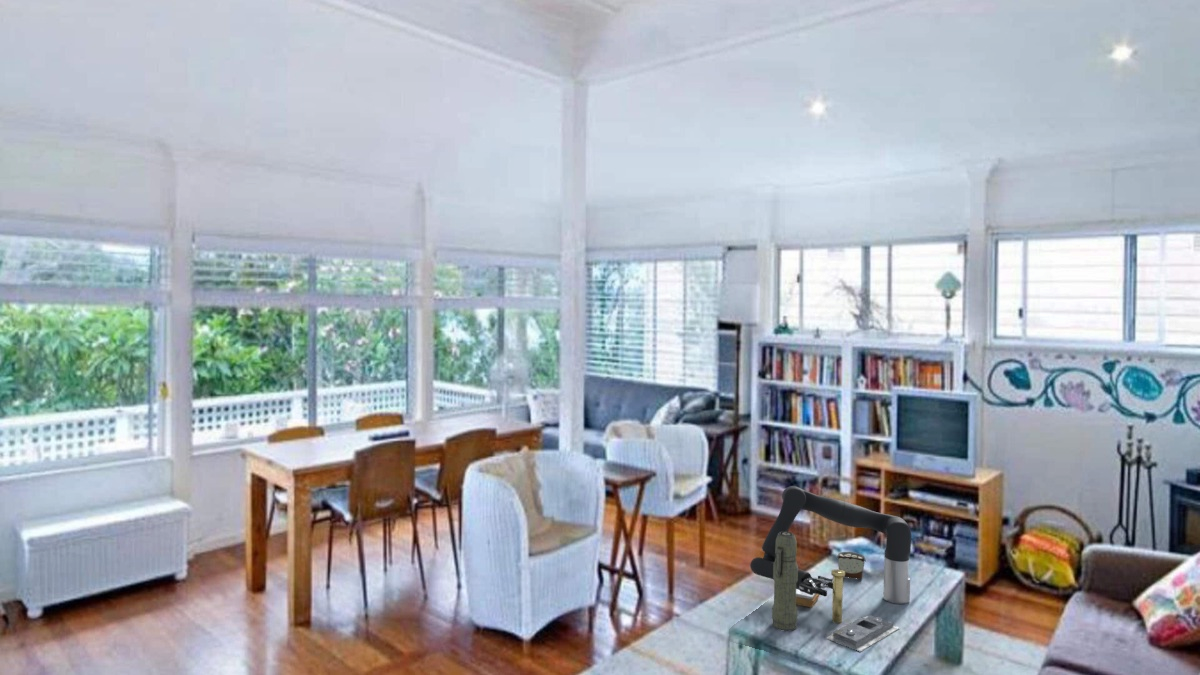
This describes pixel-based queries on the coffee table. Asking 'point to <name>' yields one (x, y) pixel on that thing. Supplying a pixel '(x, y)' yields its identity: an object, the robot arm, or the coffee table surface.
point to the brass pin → (837, 595)
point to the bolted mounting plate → (863, 632)
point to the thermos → (785, 582)
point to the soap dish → (805, 598)
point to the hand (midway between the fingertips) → (832, 590)
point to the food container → (851, 564)
